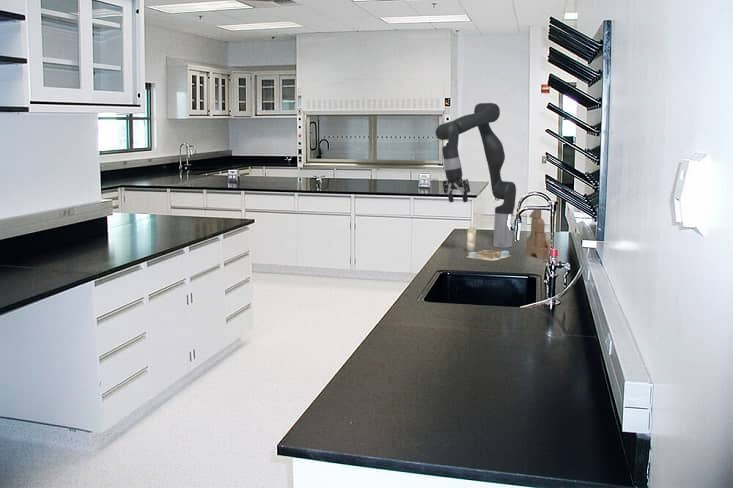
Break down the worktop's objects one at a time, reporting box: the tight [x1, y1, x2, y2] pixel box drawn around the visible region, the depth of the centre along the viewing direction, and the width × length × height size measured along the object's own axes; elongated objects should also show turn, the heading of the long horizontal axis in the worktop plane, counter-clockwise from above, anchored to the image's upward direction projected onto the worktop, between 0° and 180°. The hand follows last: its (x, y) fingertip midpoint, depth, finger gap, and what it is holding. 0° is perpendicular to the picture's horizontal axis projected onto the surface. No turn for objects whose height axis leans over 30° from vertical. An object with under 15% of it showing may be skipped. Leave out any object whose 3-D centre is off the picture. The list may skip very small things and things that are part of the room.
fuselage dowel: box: [466, 227, 477, 255], centre depth 335 cm, size 4×4×13 cm
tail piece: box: [468, 251, 478, 259], centre depth 325 cm, size 4×2×2 cm, turn 140°
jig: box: [466, 249, 511, 262], centre depth 327 cm, size 18×14×4 cm
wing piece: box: [500, 250, 510, 258], centre depth 329 cm, size 6×2×2 cm, turn 140°
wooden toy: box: [525, 209, 551, 263], centre depth 327 cm, size 15×7×25 cm, turn 20°
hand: (458, 202), depth 328 cm, fingers open, 8 cm apart
